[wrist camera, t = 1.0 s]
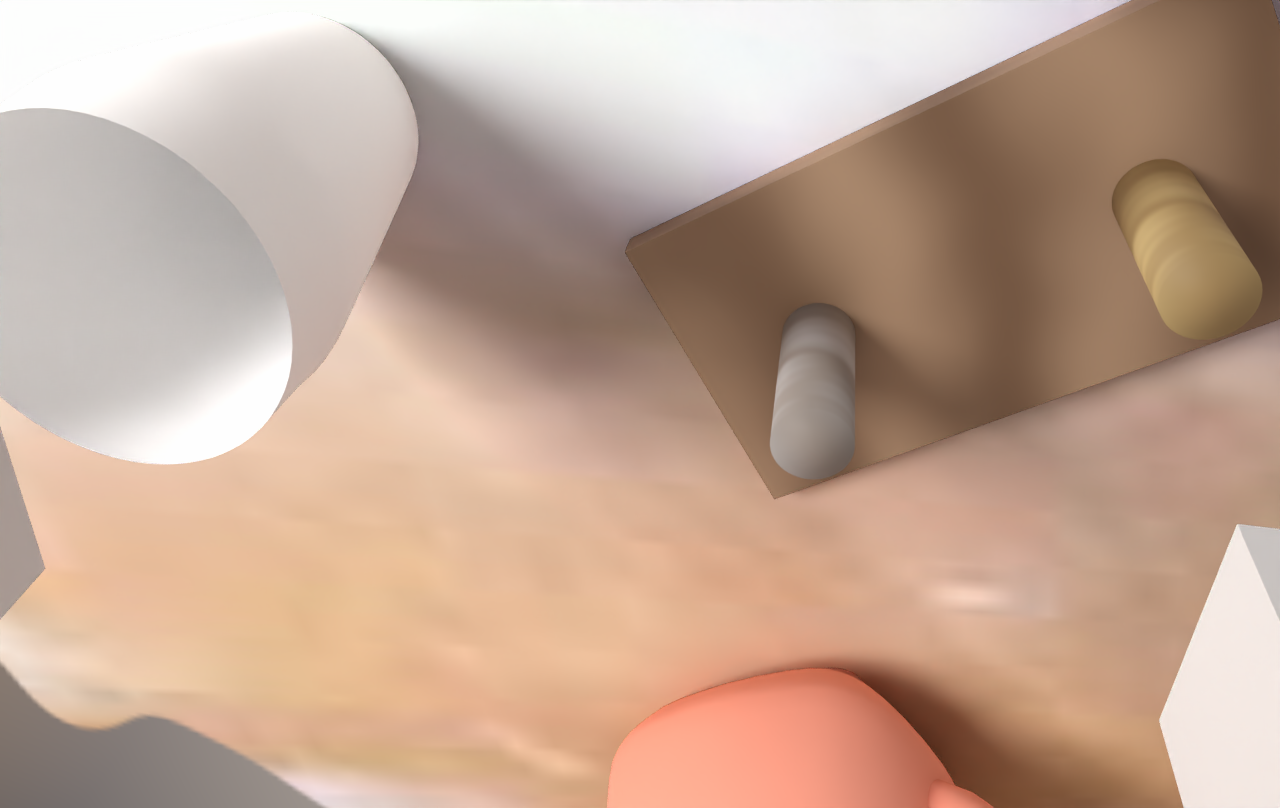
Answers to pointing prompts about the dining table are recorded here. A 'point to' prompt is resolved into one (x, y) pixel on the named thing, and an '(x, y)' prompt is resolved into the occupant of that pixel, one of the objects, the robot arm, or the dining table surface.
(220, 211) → the cup
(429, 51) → the dining table surface
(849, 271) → the pin board
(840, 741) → the teapot
